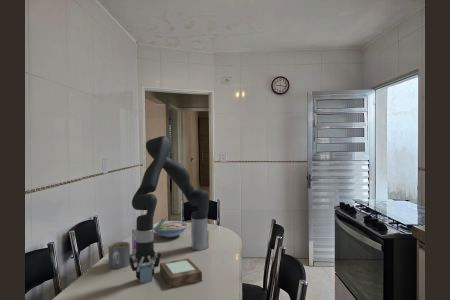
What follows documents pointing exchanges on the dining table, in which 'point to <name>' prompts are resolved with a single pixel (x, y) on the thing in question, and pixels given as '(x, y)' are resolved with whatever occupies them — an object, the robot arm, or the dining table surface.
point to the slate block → (145, 273)
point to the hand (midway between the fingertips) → (145, 277)
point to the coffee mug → (119, 255)
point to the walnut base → (180, 272)
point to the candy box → (134, 242)
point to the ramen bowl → (169, 228)
